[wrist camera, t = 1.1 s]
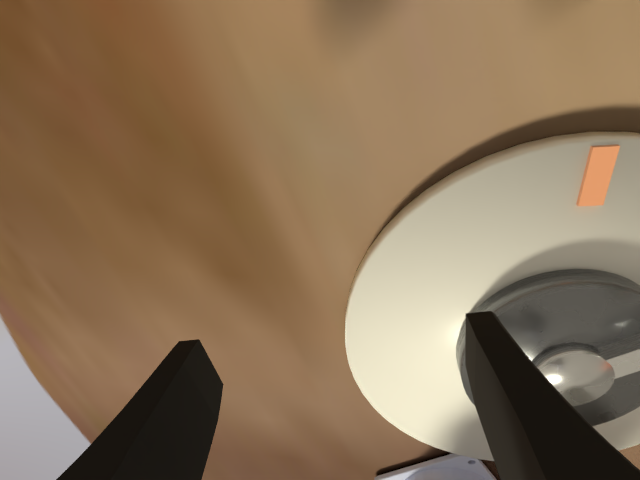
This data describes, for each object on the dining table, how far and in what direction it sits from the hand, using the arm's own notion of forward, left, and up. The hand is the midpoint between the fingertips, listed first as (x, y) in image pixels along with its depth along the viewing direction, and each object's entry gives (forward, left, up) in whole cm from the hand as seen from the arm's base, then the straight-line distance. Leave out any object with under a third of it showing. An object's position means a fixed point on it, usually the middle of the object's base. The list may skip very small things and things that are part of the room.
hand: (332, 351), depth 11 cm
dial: (-13, -6, -9) cm, 17 cm away
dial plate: (-13, -5, -10) cm, 17 cm away
